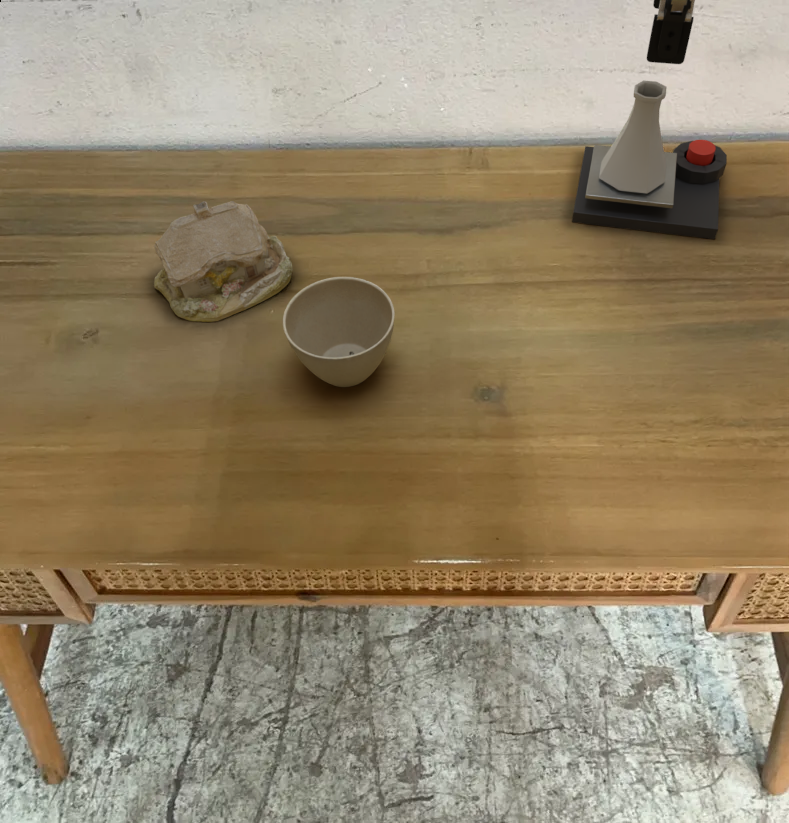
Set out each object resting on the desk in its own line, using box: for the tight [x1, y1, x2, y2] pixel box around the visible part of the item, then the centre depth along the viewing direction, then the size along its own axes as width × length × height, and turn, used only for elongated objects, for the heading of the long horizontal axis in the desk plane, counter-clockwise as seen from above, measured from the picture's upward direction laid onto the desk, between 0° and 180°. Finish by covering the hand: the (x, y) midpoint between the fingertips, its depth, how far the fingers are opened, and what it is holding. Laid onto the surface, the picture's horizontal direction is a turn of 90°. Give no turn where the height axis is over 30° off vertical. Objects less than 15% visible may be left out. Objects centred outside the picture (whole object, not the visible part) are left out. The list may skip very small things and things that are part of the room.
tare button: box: [686, 139, 716, 166], centre depth 91 cm, size 3×3×2 cm
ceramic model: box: [153, 200, 293, 323], centre depth 84 cm, size 14×11×10 cm
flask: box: [599, 80, 668, 193], centre depth 86 cm, size 7×7×10 cm
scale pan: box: [585, 144, 677, 208], centre depth 90 cm, size 9×9×1 cm
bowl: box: [282, 276, 396, 388], centre depth 77 cm, size 10×10×7 cm
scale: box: [571, 140, 728, 240], centre depth 92 cm, size 15×13×3 cm
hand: (667, 33), depth 77 cm, fingers open, 9 cm apart
